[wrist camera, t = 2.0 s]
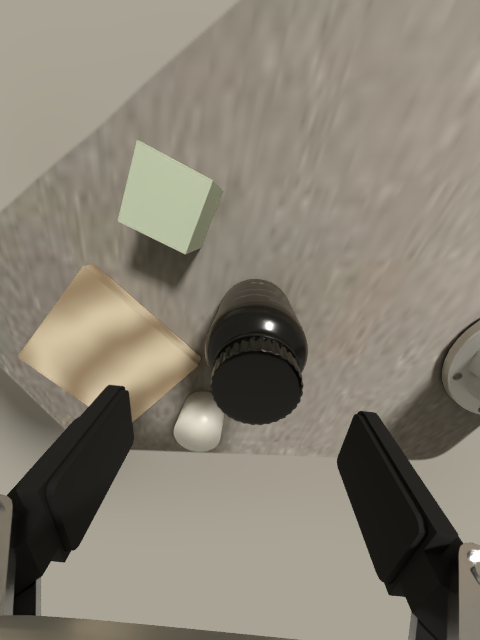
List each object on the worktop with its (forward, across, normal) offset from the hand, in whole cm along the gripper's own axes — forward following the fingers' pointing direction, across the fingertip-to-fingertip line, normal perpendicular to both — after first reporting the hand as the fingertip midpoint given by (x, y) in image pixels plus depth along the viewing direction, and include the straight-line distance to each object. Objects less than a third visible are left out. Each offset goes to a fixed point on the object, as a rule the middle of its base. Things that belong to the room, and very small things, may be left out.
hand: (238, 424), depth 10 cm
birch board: (+14, +14, +7) cm, 21 cm away
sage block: (+14, +6, -8) cm, 18 cm away
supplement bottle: (+14, -1, 0) cm, 14 cm away
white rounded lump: (+14, +4, +13) cm, 20 cm away
